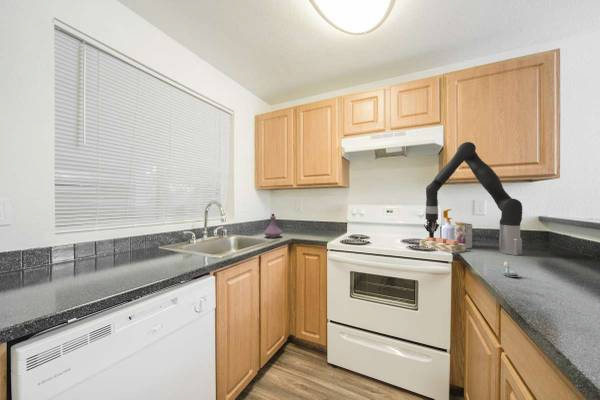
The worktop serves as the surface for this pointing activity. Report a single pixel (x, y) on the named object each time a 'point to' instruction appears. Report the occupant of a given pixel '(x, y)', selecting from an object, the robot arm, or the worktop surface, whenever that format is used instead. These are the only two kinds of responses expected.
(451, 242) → the button inner
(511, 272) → the pacifier
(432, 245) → the button board
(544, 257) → the worktop surface
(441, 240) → the button middle
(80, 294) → the worktop surface
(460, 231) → the candy bar box
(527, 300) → the worktop surface
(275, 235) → the flask
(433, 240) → the button outer
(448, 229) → the soap bottle
